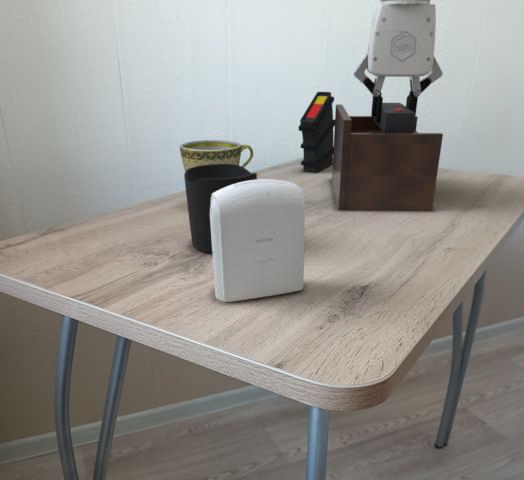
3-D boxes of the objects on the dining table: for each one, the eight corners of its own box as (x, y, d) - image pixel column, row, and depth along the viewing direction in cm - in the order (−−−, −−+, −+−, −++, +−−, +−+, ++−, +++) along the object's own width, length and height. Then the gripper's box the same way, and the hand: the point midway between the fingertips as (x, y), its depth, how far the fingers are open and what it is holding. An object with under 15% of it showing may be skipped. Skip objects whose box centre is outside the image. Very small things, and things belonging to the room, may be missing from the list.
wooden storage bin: (408, 181, 109) (418, 104, 102) (431, 212, 90) (445, 120, 83) (331, 180, 110) (335, 104, 103) (338, 211, 91) (343, 120, 84)
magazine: (339, 154, 126) (333, 91, 114) (320, 190, 119) (311, 128, 108) (323, 152, 127) (316, 90, 115) (304, 189, 121) (294, 127, 109)
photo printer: (220, 306, 59) (214, 189, 53) (210, 291, 62) (203, 180, 56) (308, 293, 62) (312, 180, 56) (294, 279, 65) (297, 172, 59)
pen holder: (179, 253, 73) (172, 177, 68) (203, 232, 81) (199, 162, 76) (246, 259, 71) (244, 181, 66) (265, 237, 79) (265, 165, 74)
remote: (398, 120, 101) (400, 101, 99) (412, 133, 88) (415, 111, 86) (373, 120, 101) (375, 101, 99) (384, 133, 88) (386, 111, 86)
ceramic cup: (201, 217, 88) (196, 152, 83) (174, 204, 95) (169, 143, 90) (268, 205, 94) (268, 144, 89) (239, 193, 101) (237, 136, 96)
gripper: (352, -7, 82) (344, 124, 91) (468, -8, 81) (447, 125, 90) (349, -4, 89) (341, 118, 98) (455, -5, 88) (438, 119, 97)
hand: (392, 120), depth 94 cm, fingers closed on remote, 4 cm apart
